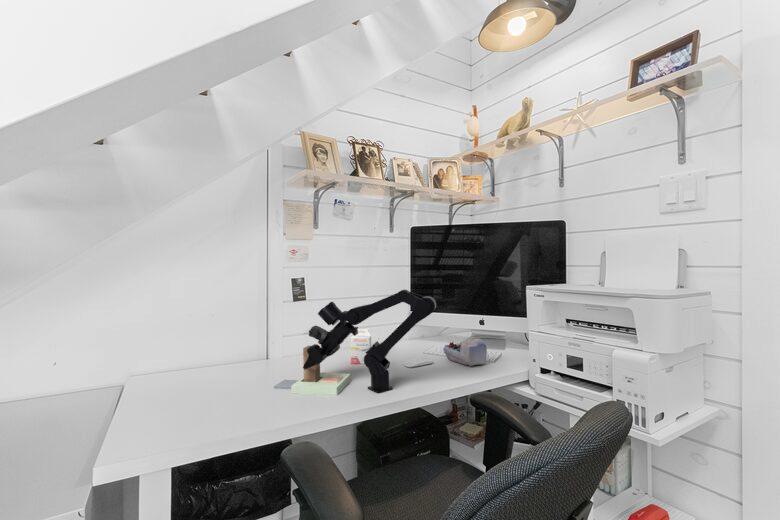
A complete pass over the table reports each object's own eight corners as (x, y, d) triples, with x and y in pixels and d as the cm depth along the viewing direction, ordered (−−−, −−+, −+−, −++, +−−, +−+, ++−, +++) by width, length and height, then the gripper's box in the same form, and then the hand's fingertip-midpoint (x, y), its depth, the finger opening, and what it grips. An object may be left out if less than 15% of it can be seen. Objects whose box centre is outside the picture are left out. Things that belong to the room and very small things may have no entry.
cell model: (468, 342, 152) (439, 336, 169) (469, 369, 152) (440, 360, 169) (492, 338, 158) (462, 332, 176) (494, 364, 158) (463, 356, 175)
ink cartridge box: (350, 364, 164) (350, 330, 164) (352, 361, 169) (352, 328, 169) (370, 364, 163) (369, 330, 163) (371, 361, 168) (371, 328, 168)
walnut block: (320, 384, 137) (319, 345, 137) (315, 388, 132) (314, 348, 133) (308, 384, 138) (308, 345, 138) (303, 387, 133) (303, 348, 133)
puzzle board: (350, 380, 141) (350, 370, 141) (336, 395, 125) (336, 383, 125) (310, 378, 144) (309, 368, 144) (291, 393, 128) (291, 381, 128)
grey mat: (304, 382, 140) (304, 380, 140) (294, 389, 132) (294, 387, 132) (284, 381, 141) (284, 379, 141) (273, 388, 134) (273, 386, 134)
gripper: (331, 315, 144) (304, 343, 146) (312, 322, 125) (282, 354, 127) (351, 336, 142) (324, 364, 144) (335, 346, 124) (304, 379, 126)
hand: (309, 364), depth 135 cm, fingers open, 9 cm apart
